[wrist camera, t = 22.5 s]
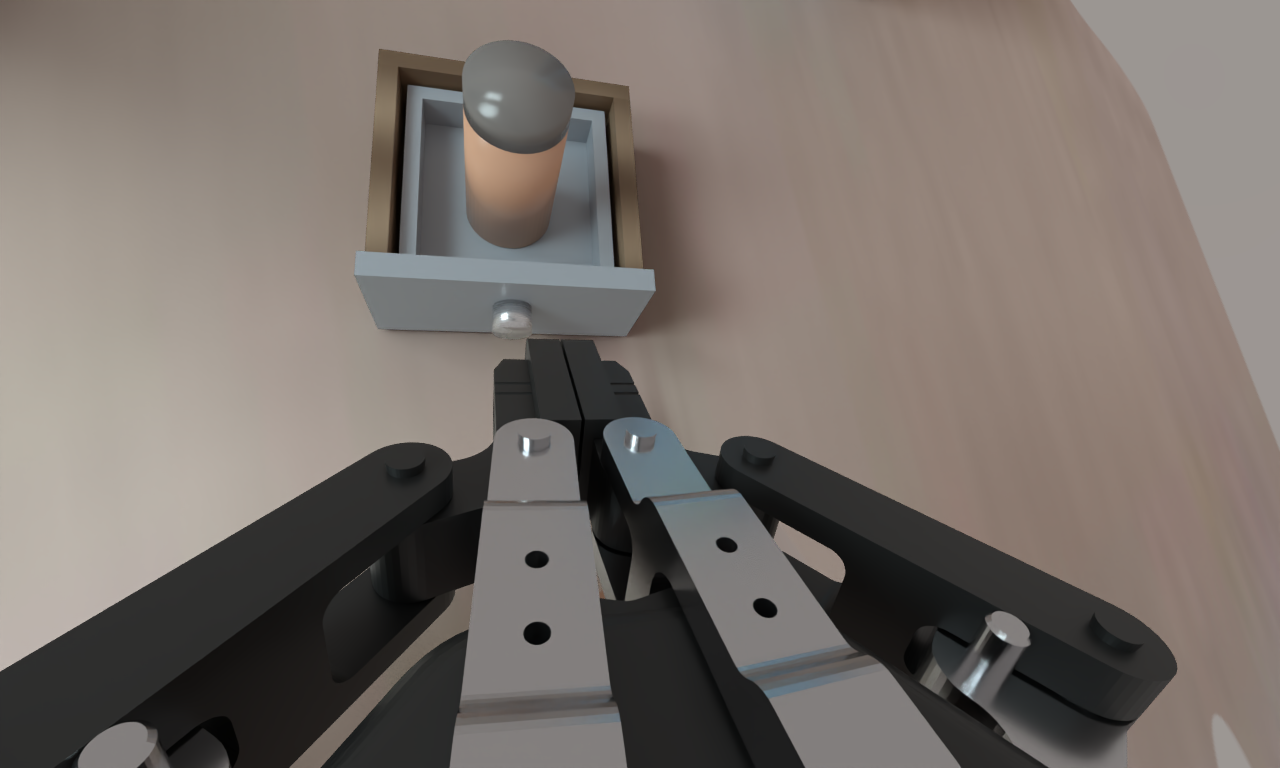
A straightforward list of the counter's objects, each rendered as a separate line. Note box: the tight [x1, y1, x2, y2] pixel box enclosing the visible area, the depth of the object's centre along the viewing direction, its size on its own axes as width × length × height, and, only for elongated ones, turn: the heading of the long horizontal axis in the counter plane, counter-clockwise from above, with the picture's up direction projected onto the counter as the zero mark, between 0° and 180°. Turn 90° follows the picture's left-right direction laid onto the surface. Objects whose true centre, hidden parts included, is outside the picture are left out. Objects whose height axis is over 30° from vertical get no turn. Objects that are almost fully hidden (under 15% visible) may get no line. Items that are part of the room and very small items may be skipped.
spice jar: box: [462, 40, 575, 248], centre depth 29 cm, size 5×5×10 cm
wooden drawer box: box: [365, 49, 643, 269], centre depth 34 cm, size 13×14×5 cm
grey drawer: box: [354, 85, 656, 339], centre depth 32 cm, size 15×14×6 cm
